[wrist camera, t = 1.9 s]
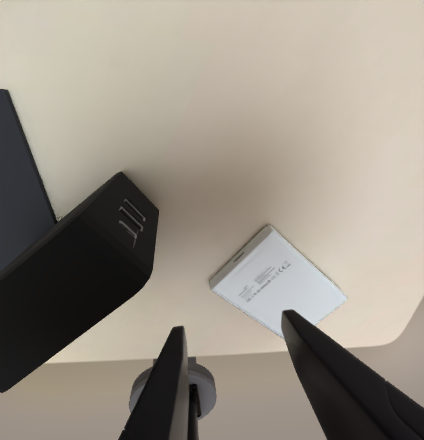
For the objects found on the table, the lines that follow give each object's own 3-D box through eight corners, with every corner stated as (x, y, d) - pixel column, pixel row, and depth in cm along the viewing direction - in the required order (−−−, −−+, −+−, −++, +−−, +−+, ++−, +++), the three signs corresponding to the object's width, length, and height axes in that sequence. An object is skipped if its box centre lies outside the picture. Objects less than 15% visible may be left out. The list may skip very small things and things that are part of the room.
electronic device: (160, 207, 19) (152, 283, 10) (73, 276, 20) (-5, 401, 11) (123, 167, 17) (73, 216, 8) (30, 245, 18) (-104, 363, 9)
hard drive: (284, 332, 27) (208, 280, 23) (339, 288, 25) (268, 222, 21) (290, 344, 26) (210, 292, 21) (349, 298, 24) (274, 230, 19)
